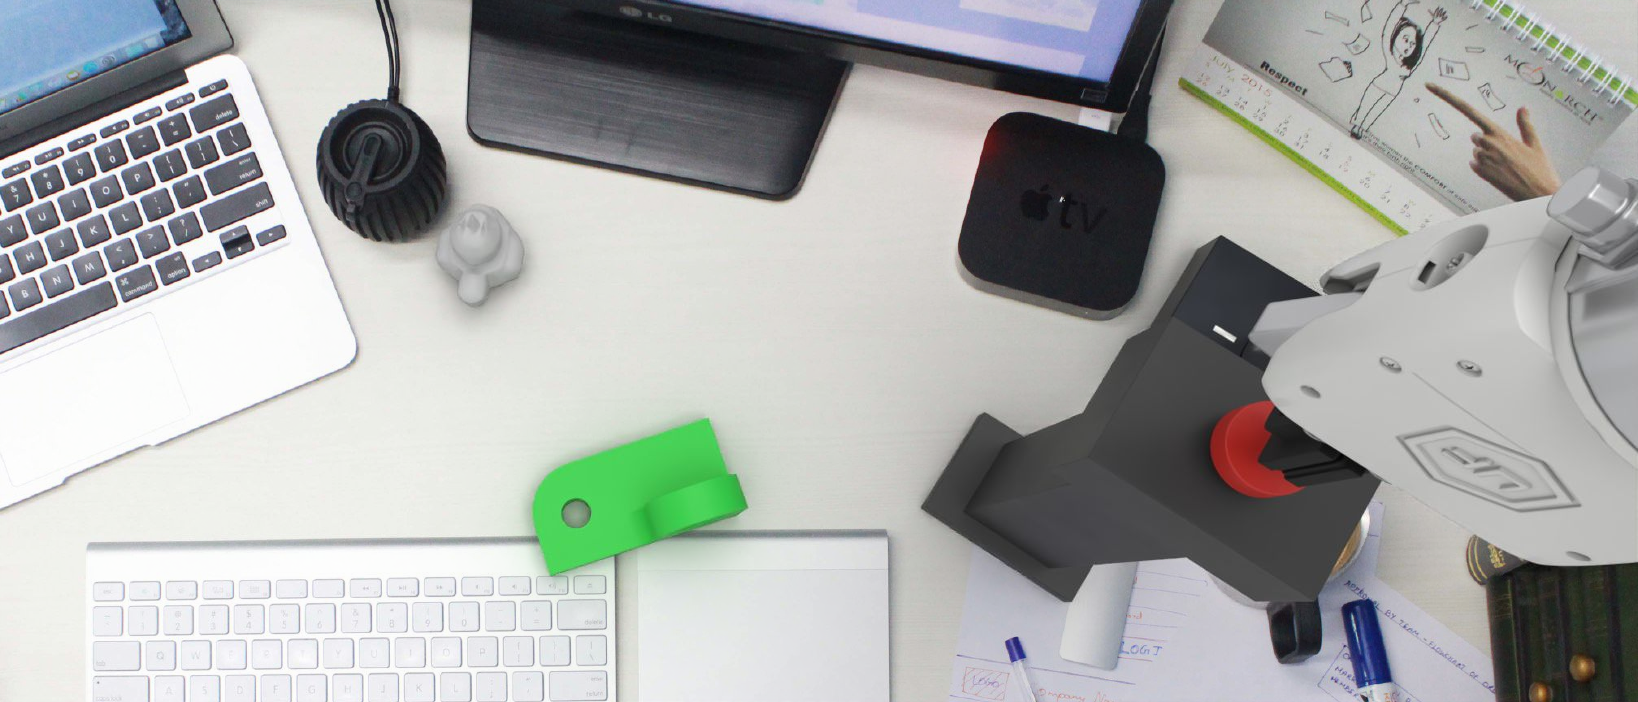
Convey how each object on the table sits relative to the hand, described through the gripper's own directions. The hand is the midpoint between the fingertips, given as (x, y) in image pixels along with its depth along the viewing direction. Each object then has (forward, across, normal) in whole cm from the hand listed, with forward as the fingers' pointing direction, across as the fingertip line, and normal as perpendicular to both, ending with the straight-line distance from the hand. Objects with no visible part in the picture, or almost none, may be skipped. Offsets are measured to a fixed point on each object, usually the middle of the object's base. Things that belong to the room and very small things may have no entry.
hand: (1295, 439), depth 43 cm
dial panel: (+30, +8, +15) cm, 34 cm away
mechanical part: (+30, -20, -13) cm, 38 cm away
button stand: (+30, 0, 0) cm, 30 cm away
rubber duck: (+30, -36, -6) cm, 47 cm away
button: (+4, 0, 0) cm, 4 cm away
